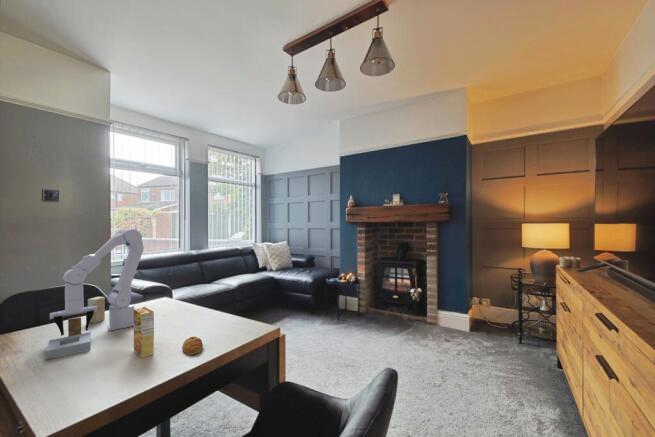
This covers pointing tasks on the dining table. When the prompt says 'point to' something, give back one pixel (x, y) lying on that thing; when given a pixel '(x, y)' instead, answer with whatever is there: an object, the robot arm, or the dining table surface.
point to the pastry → (192, 345)
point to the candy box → (143, 332)
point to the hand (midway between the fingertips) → (74, 332)
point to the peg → (74, 326)
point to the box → (100, 312)
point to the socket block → (68, 345)
